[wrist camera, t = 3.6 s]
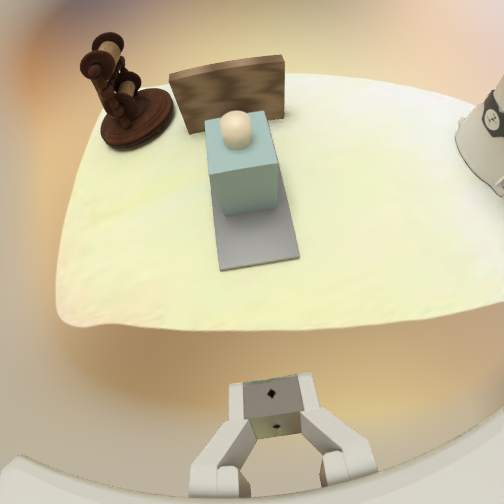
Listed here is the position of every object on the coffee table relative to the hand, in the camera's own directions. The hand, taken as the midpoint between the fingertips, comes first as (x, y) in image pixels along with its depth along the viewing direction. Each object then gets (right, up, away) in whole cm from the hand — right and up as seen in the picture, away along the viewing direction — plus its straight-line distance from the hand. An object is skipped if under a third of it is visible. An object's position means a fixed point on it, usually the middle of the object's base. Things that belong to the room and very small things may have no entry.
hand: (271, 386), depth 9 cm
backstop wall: (-3, +27, +33) cm, 43 cm away
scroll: (-22, +29, +36) cm, 51 cm away
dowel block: (-1, +14, +28) cm, 31 cm away
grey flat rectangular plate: (-2, +15, +29) cm, 33 cm away
